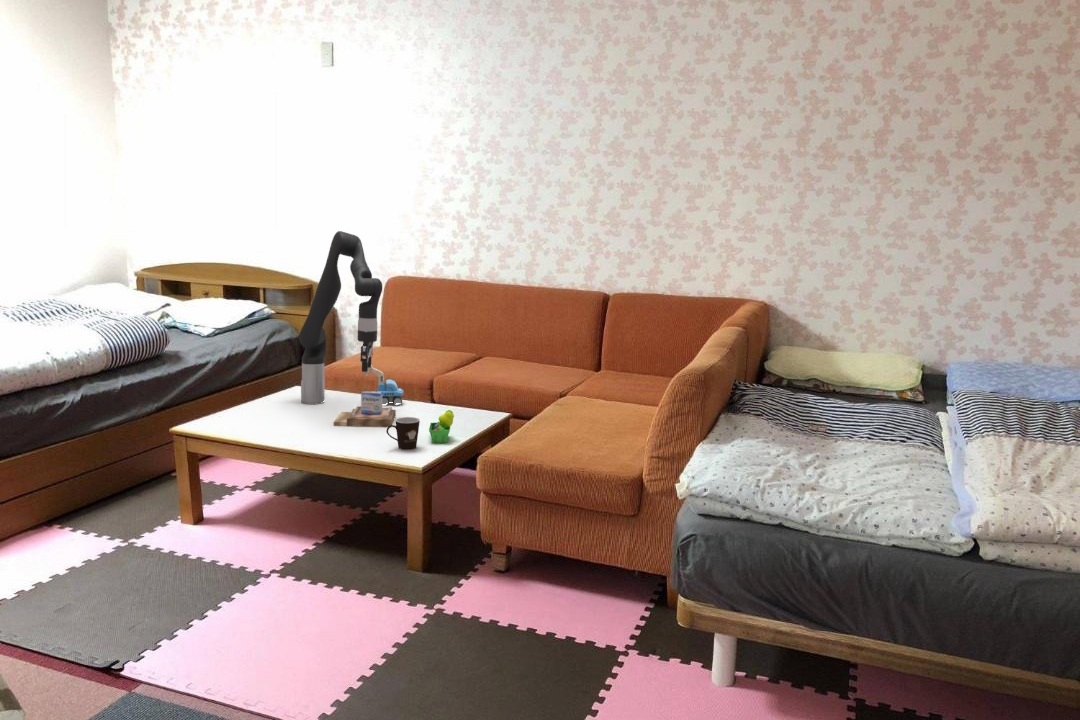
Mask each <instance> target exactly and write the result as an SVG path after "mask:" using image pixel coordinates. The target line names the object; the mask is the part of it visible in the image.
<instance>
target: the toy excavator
mask: <svg viewBox="0 0 1080 720" xmlns="http://www.w3.org/2000/svg"><path fill="white" fill-rule="evenodd" d="M363 373H364V376H365V377H366V378H367V377H369V374H370V373H372V374H373V375H375V376H376V377H378V384H377V391H378V392H383V393H382V404H386V403H388V405H389V404H390V403H389V402H393V403H392V404H393V405H394V404H396V403H402V404H403V397H402V396H404V393H405V392H404V390H403V388H400V387H399V388H398V385H397V383H396V381H395V380H392V379H386V380H385V376H384V372H383V371H381V370H379V369H377V368H374V367H373V365H372V364H371V367H370V368H368V371H367V372H363Z"/></svg>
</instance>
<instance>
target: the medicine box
mask: <svg viewBox="0 0 1080 720" xmlns="http://www.w3.org/2000/svg"><path fill="white" fill-rule="evenodd" d="M382 393H383V392H378V391H374V390H373V391H370V390H362V392H361V394H360V398H361V399H360V407H361V414H373V415H381V413H382V407H383V406H382Z"/></svg>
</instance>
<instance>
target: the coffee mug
mask: <svg viewBox="0 0 1080 720" xmlns="http://www.w3.org/2000/svg"><path fill="white" fill-rule="evenodd" d="M394 422H395V424H392V425H391V426H389V427H386V434H387V435H388V436H389V437H390V438H391V439H393V440H394V441H396V442H397V446H398V447H397V448H398V449H401V450H404V451H406V450H415V449H416V448H417V444H418V438H419V436H418V435H419V430H420V419H419V418H417V417H413V416H412V417H410V416H404V417H403V416H402V417H401V416H400V417H398V418H395V419H394ZM390 428H395V430H396V436H397V437H394V436H392V435H391V434H390V433H389V430H390Z"/></svg>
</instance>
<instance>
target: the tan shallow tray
mask: <svg viewBox="0 0 1080 720" xmlns="http://www.w3.org/2000/svg"><path fill="white" fill-rule="evenodd" d="M396 410H397V409H393V408H392V407H391V406H390V407H389V406H382V413H381V415H373V414H361V406H360V405H359V406H358V405H357V406H356V407H355V408H353V409H352V410H351V411H341V412H339V414H338V416H336V418H335V419H334V421H333V426H335V427H336V426H337V427H366V428H367V427H372V428H373V427H375V428H377V427H379V428H388V427H389V426H391V425H394V424H393V423H394V422H395V419H396V417H397V416H396V414H397V413H396V412H397V411H396ZM395 416H396V417H395ZM394 418H395V419H394Z"/></svg>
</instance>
